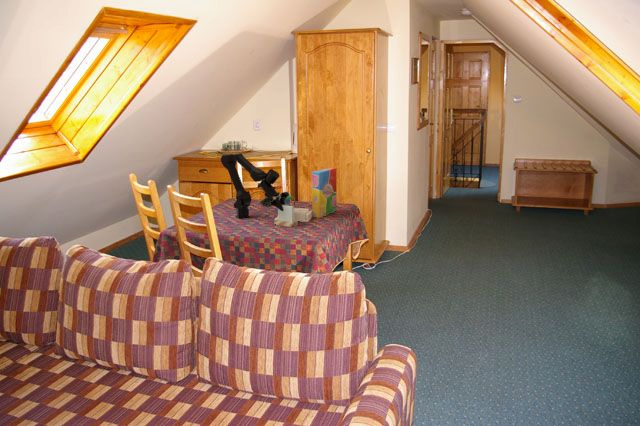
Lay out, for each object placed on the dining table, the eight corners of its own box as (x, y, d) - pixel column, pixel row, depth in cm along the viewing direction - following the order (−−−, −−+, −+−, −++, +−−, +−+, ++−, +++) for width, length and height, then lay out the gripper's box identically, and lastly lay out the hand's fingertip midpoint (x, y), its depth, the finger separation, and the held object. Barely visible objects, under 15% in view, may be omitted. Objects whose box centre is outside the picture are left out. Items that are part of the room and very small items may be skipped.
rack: (274, 220, 333) (274, 212, 332) (279, 215, 344) (279, 207, 343) (308, 221, 330) (308, 213, 328) (312, 216, 341) (312, 208, 340)
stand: (274, 224, 325) (274, 220, 324) (281, 222, 329) (281, 218, 329) (291, 227, 318) (291, 223, 317) (297, 224, 323) (297, 221, 322)
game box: (319, 218, 337) (319, 172, 331) (311, 217, 340) (311, 172, 334) (336, 211, 355) (336, 167, 348) (329, 210, 357) (328, 167, 351)
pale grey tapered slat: (278, 222, 325) (277, 204, 323) (280, 221, 327) (279, 204, 325) (292, 224, 320) (291, 207, 318) (294, 223, 321) (293, 206, 319)
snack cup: (294, 209, 361) (294, 193, 359) (296, 213, 351) (296, 196, 349) (269, 210, 359) (269, 194, 357) (270, 214, 349) (270, 197, 347)
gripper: (271, 195, 338) (286, 215, 334) (250, 200, 323) (266, 222, 319) (281, 183, 332) (297, 204, 328) (260, 188, 317) (276, 210, 313)
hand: (284, 210), depth 322 cm, fingers closed on pale grey tapered slat, 2 cm apart
